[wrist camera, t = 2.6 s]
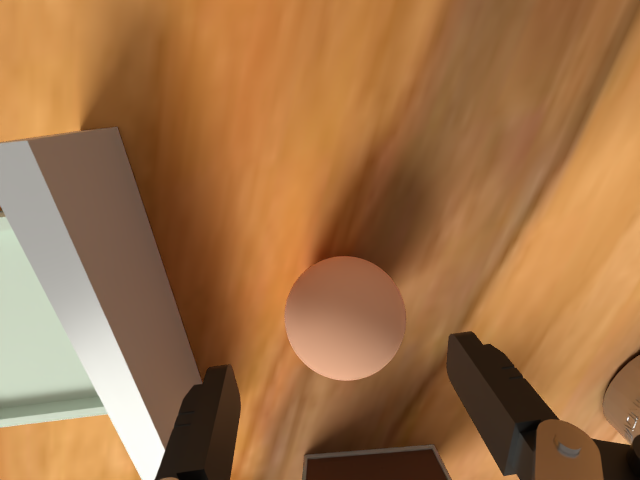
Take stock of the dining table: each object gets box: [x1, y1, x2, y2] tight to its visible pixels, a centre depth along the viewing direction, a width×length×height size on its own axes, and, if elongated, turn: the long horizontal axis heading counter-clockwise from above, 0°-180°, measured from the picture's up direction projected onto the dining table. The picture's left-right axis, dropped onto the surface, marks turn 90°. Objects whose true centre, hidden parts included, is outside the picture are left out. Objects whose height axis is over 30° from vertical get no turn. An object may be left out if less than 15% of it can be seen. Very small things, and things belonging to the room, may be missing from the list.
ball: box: [285, 256, 406, 380], centre depth 15 cm, size 6×6×6 cm
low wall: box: [0, 127, 203, 480], centre depth 15 cm, size 2×18×5 cm, turn 5°
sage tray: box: [0, 211, 108, 427], centre depth 17 cm, size 9×12×1 cm
